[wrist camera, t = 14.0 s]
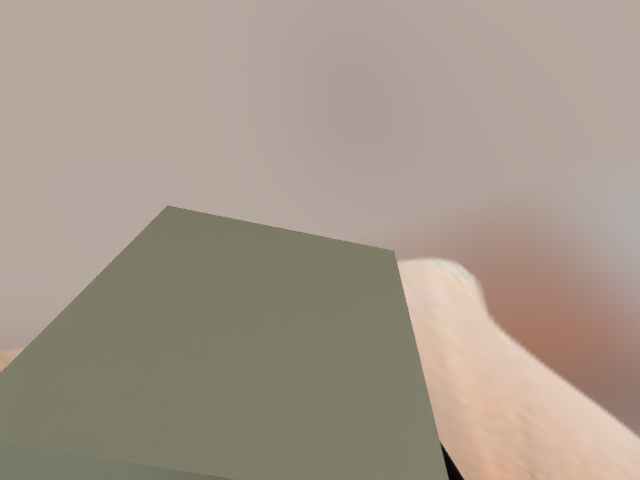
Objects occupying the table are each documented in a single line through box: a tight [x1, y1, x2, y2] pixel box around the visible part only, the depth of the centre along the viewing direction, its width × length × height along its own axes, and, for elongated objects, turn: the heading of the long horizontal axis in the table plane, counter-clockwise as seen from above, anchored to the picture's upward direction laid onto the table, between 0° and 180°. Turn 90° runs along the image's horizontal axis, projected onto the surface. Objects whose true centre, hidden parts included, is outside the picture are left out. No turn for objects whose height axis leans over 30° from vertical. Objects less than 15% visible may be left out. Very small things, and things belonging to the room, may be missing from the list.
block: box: [0, 206, 449, 480], centre depth 7 cm, size 5×5×5 cm
